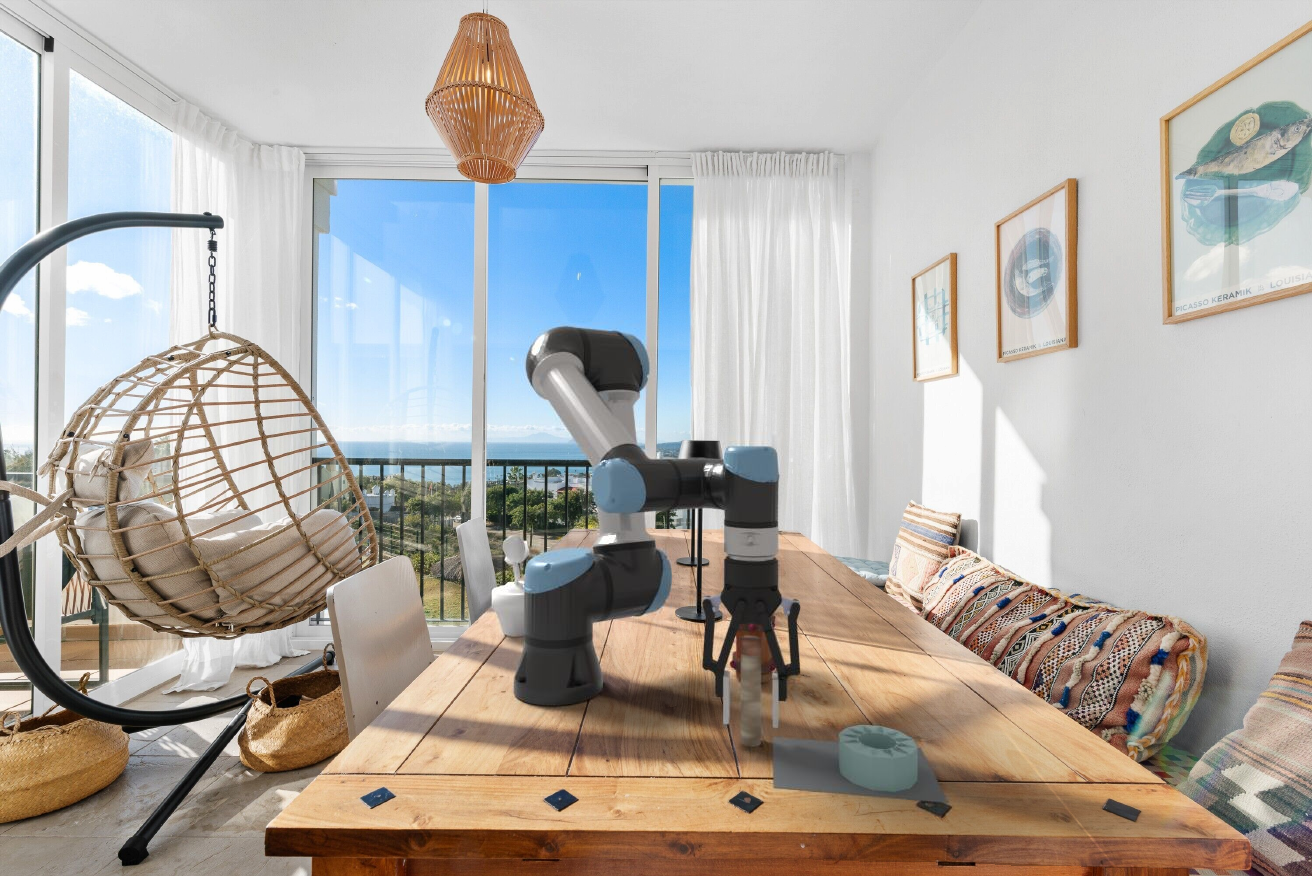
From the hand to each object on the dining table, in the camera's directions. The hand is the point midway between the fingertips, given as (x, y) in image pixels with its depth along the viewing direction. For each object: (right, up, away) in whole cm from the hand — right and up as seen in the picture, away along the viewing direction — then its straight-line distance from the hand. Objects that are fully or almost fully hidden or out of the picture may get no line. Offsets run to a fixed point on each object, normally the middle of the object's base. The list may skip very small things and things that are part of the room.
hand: (750, 721), depth 93 cm
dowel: (0, -3, 0) cm, 3 cm away
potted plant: (-44, -4, +55) cm, 70 cm away
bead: (+15, -3, -9) cm, 17 cm away
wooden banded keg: (+5, -4, +29) cm, 29 cm away
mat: (+12, -3, -7) cm, 14 cm away
